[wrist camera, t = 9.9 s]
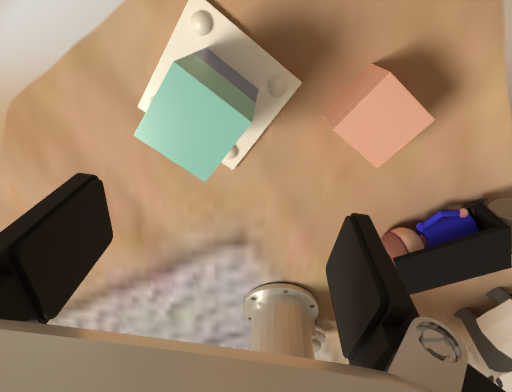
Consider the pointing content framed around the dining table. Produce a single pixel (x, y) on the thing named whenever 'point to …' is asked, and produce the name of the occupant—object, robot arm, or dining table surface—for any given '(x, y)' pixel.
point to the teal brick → (195, 116)
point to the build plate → (236, 58)
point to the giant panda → (491, 336)
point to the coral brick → (377, 115)
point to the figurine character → (453, 245)
